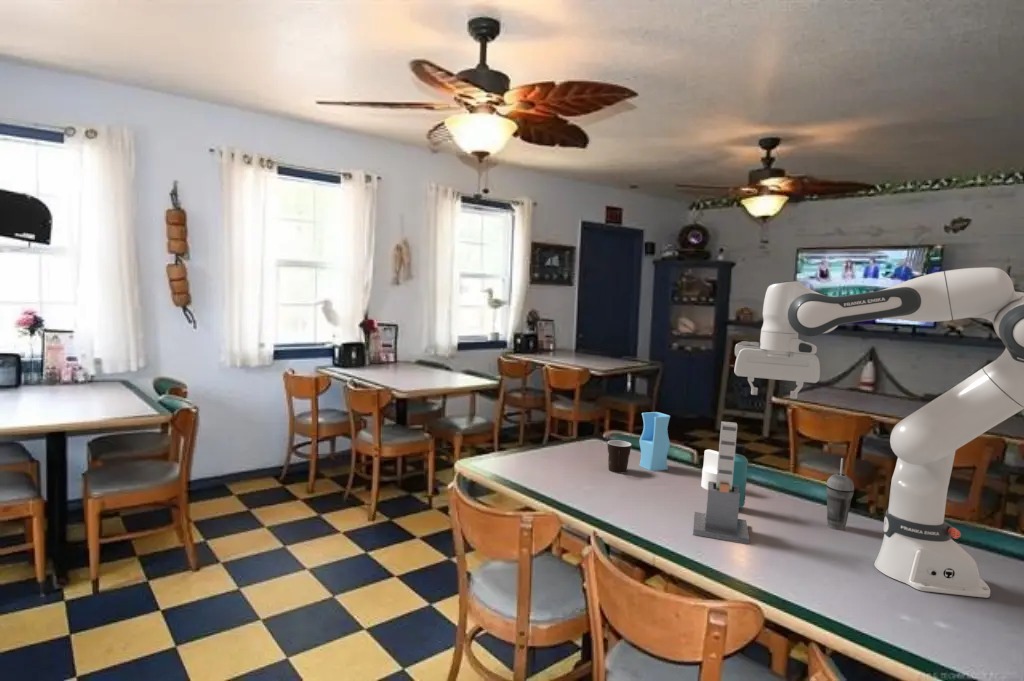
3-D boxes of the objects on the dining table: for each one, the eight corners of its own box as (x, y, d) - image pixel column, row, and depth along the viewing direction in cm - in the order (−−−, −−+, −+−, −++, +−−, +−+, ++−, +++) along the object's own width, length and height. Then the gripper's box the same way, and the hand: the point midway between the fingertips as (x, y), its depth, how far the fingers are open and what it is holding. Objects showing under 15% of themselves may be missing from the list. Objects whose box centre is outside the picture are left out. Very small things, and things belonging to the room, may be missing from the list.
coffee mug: (612, 465, 221) (613, 439, 220) (633, 470, 216) (635, 443, 215) (597, 472, 211) (599, 444, 211) (619, 477, 206) (621, 449, 206)
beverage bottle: (746, 513, 178) (752, 448, 176) (722, 510, 179) (728, 445, 178) (742, 506, 184) (747, 443, 183) (719, 503, 186) (725, 440, 184)
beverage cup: (823, 528, 169) (830, 460, 167) (820, 520, 176) (826, 454, 174) (852, 533, 166) (860, 464, 165) (847, 524, 173) (854, 457, 172)
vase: (637, 465, 223) (641, 412, 221) (653, 463, 227) (657, 411, 225) (651, 471, 216) (655, 417, 214) (668, 469, 220) (672, 416, 218)
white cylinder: (695, 485, 202) (698, 451, 201) (711, 481, 208) (714, 448, 207) (718, 493, 195) (721, 458, 194) (734, 489, 200) (737, 454, 199)
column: (729, 500, 165) (736, 423, 163) (730, 505, 161) (737, 426, 159) (714, 498, 166) (721, 421, 164) (714, 503, 162) (721, 424, 160)
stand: (745, 525, 168) (749, 477, 167) (748, 544, 155) (753, 493, 154) (694, 516, 173) (698, 470, 172) (693, 534, 160) (697, 484, 158)
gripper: (736, 341, 153) (731, 394, 154) (824, 347, 147) (818, 402, 148) (735, 339, 159) (730, 390, 160) (819, 345, 153) (814, 398, 154)
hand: (773, 396), depth 154 cm, fingers open, 8 cm apart
